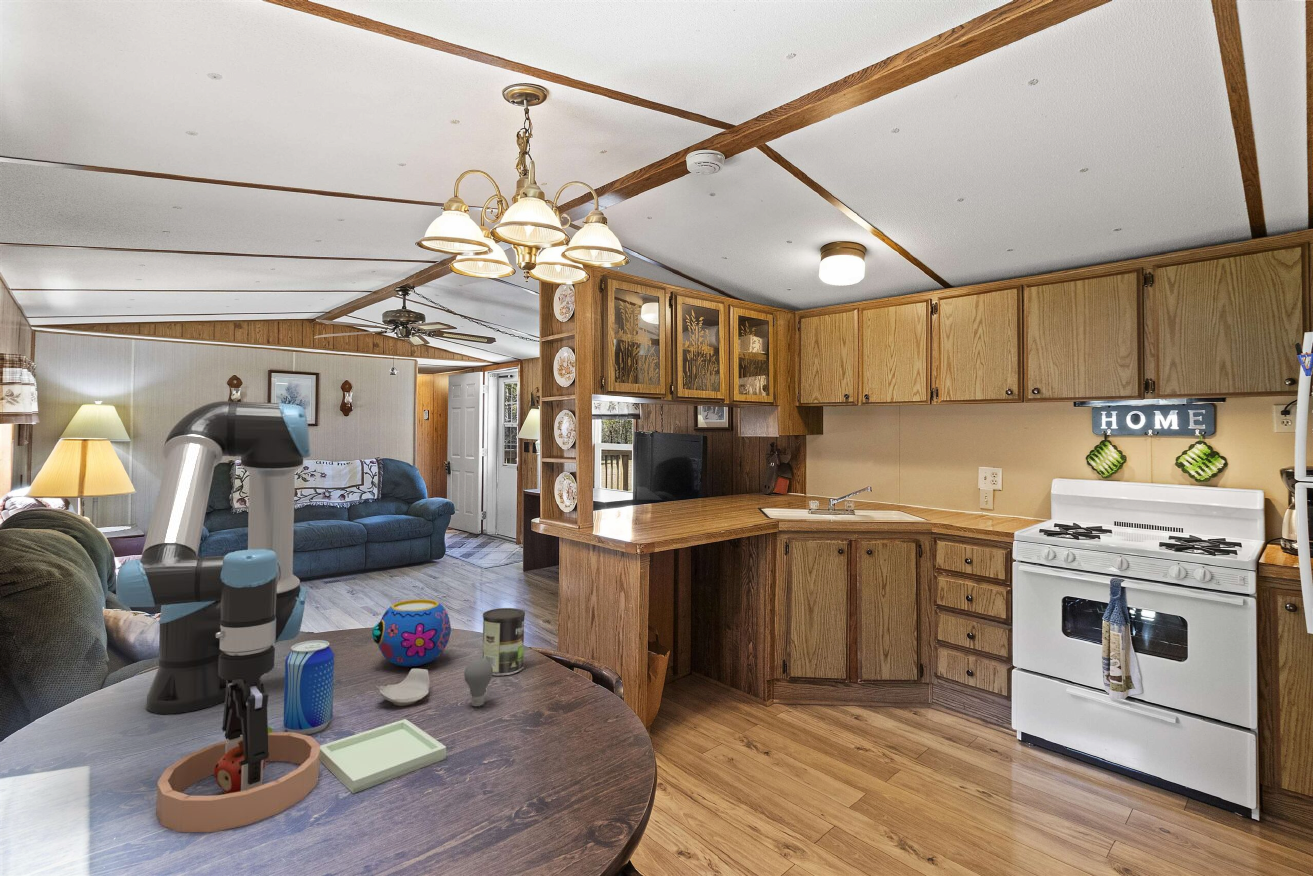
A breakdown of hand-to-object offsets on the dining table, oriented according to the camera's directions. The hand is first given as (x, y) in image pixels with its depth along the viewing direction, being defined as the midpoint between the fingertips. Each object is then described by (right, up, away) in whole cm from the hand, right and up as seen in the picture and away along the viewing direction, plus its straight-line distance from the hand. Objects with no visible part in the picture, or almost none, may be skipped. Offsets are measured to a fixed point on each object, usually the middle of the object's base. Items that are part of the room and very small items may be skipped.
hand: (242, 790), depth 99 cm
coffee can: (+28, -2, +56) cm, 63 cm away
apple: (0, 0, 0) cm, 0 cm away
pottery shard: (+11, -1, +36) cm, 38 cm away
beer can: (-2, -1, +23) cm, 23 cm away
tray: (+17, -1, +11) cm, 21 cm away
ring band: (0, 0, 0) cm, 0 cm away
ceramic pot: (+4, -1, +59) cm, 59 cm away
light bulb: (+28, -2, +34) cm, 44 cm away
